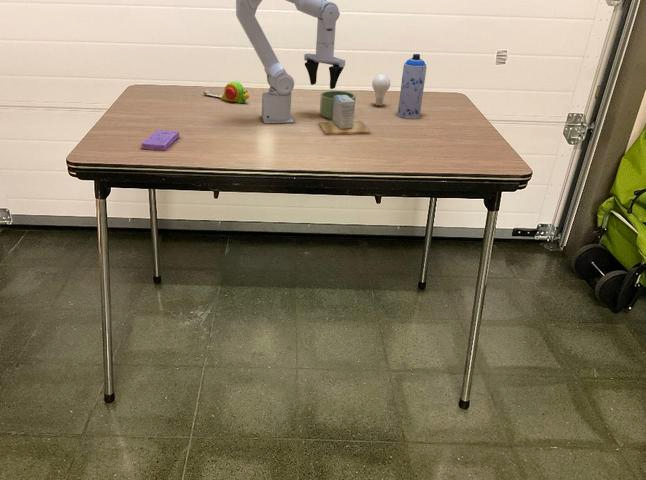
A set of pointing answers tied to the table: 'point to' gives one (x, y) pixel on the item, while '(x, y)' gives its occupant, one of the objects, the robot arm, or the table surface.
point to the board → (333, 129)
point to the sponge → (160, 140)
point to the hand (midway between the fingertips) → (322, 86)
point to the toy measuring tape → (232, 93)
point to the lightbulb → (380, 87)
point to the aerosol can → (412, 88)
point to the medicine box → (343, 111)
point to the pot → (331, 102)
